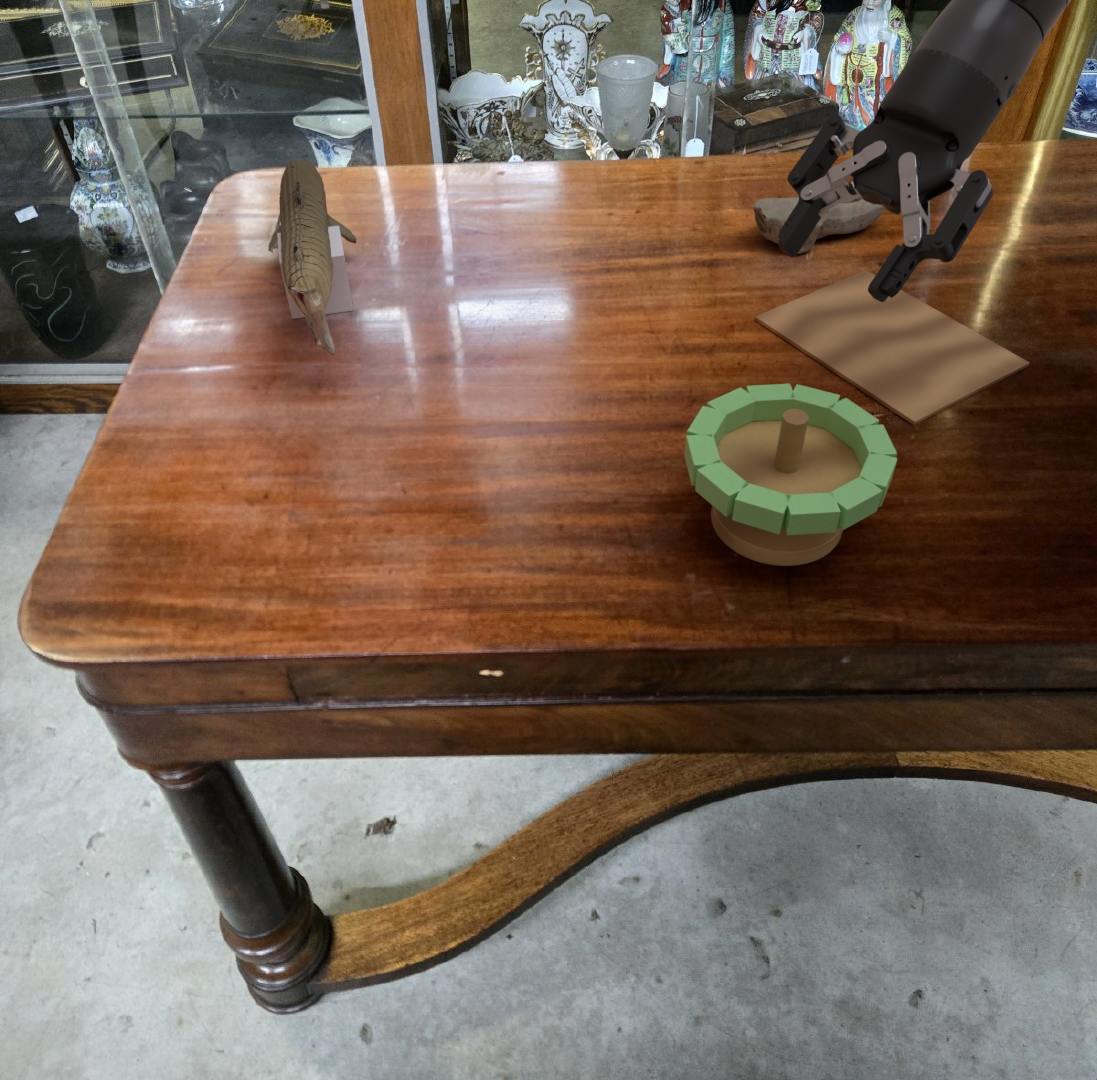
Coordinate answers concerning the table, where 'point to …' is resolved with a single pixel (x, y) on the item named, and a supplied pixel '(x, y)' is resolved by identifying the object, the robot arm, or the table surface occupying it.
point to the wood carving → (311, 251)
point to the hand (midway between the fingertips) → (828, 273)
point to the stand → (784, 482)
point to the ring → (777, 507)
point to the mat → (892, 346)
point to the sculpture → (832, 220)
